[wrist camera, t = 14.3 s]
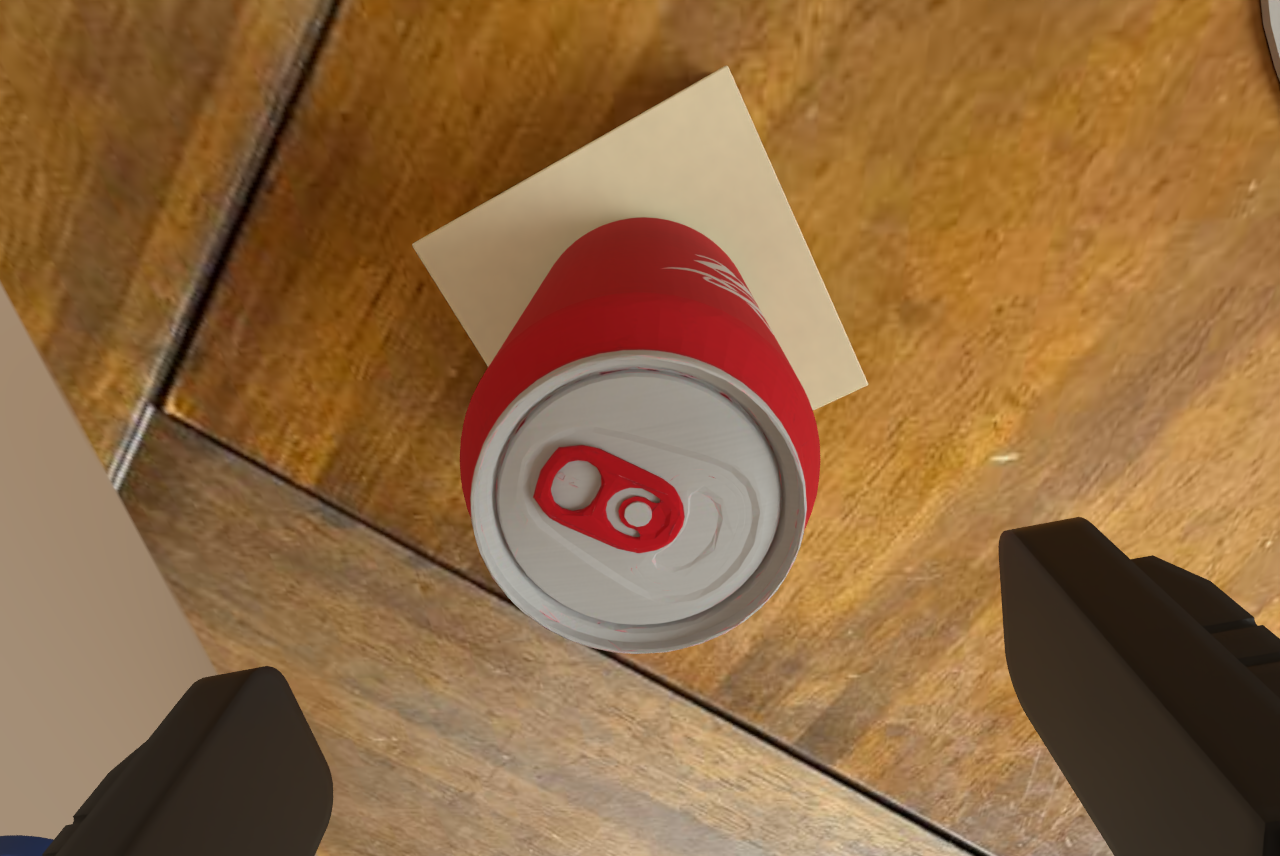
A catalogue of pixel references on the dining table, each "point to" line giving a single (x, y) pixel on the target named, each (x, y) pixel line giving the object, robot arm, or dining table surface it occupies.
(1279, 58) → the plate
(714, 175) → the block
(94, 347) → the dining table surface
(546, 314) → the beverage can
